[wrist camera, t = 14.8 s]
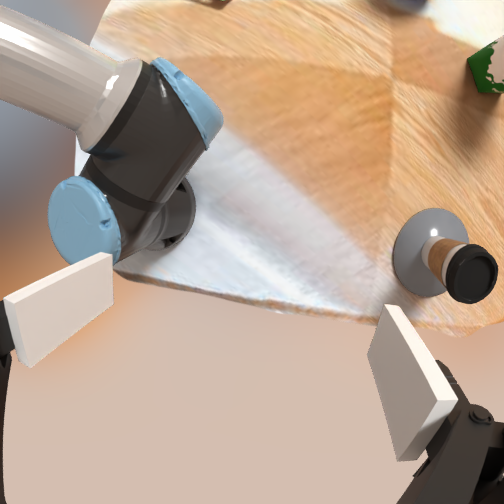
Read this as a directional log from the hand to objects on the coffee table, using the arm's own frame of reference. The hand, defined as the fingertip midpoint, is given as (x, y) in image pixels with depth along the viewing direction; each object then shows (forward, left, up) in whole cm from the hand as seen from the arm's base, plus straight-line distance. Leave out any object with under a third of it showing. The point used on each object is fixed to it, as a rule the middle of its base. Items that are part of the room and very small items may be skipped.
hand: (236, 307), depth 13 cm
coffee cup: (+28, -2, -36) cm, 46 cm away
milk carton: (+36, +35, -37) cm, 62 cm away
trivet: (+28, -2, -37) cm, 46 cm away
